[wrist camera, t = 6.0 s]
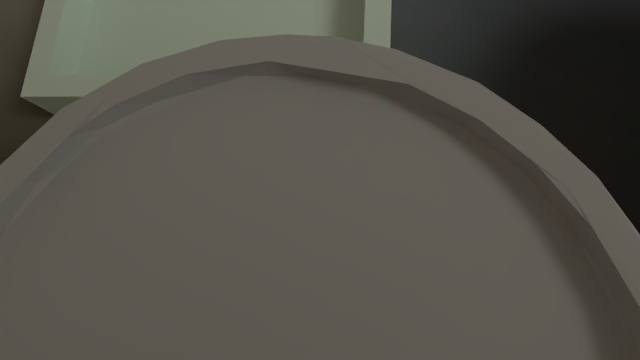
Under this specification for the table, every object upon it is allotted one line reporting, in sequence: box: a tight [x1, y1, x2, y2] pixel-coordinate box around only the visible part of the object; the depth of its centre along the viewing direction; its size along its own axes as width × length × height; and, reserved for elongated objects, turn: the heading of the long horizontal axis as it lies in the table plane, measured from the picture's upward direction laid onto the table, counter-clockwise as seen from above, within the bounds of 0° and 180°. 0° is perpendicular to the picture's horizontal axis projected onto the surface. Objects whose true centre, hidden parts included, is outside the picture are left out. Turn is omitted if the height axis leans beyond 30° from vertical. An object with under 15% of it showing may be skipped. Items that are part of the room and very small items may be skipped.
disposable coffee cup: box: [0, 34, 640, 360], centre depth 10 cm, size 10×10×12 cm
